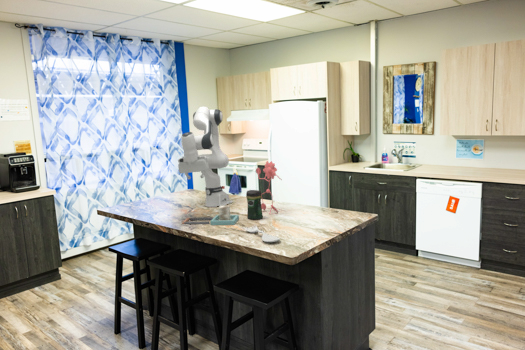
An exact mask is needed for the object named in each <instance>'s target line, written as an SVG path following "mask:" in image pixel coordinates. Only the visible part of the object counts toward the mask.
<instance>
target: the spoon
mask: <svg viewBox="0 0 525 350" xmlns="http://www.w3.org/2000/svg"><path fill="white" fill-rule="evenodd" d="M242 229H243V230H245V231H246V232H249V233H251V234H254V233H257V232H258V234H262V235H261V240H262V241H263V242H265V243H275V242H279V241H280V240H281V238H280V237H278V236H274V235H272V234H268V233H266V232H264V230H260V229H259V228H258V225H257V224H254V225H252V226H251V227H250V226H249V227H244V226H242Z"/></svg>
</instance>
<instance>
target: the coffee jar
mask: <svg viewBox="0 0 525 350" xmlns="http://www.w3.org/2000/svg"><path fill="white" fill-rule="evenodd" d="M261 194H262V192H261V190H257V189H249V190H246V195H245V196H246V201H247V212H246V213H247V215H246V217H247V219H249V220H261V219H262V218H263V217H264V216H263V209H262V207H261V204H262V197H261V196H262V195H263V194H262V195H261Z"/></svg>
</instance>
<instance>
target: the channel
mask: <svg viewBox="0 0 525 350" xmlns="http://www.w3.org/2000/svg"><path fill="white" fill-rule="evenodd" d="M214 217H215V216H213V217H211V216H210V217H207V216H206V217H205V216H204V217H187V218H185V220H183V221H182V222H181V225H182V224H209V225H211V224H210V221H211V220H212V219H213V218H214ZM189 220H190V221H189Z"/></svg>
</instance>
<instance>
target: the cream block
mask: <svg viewBox="0 0 525 350" xmlns="http://www.w3.org/2000/svg"><path fill="white" fill-rule="evenodd" d="M230 207H231V205H225V206H219V207H218V215H219V219H218V221H220V220H232V219H230V215H231V208H230Z"/></svg>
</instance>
